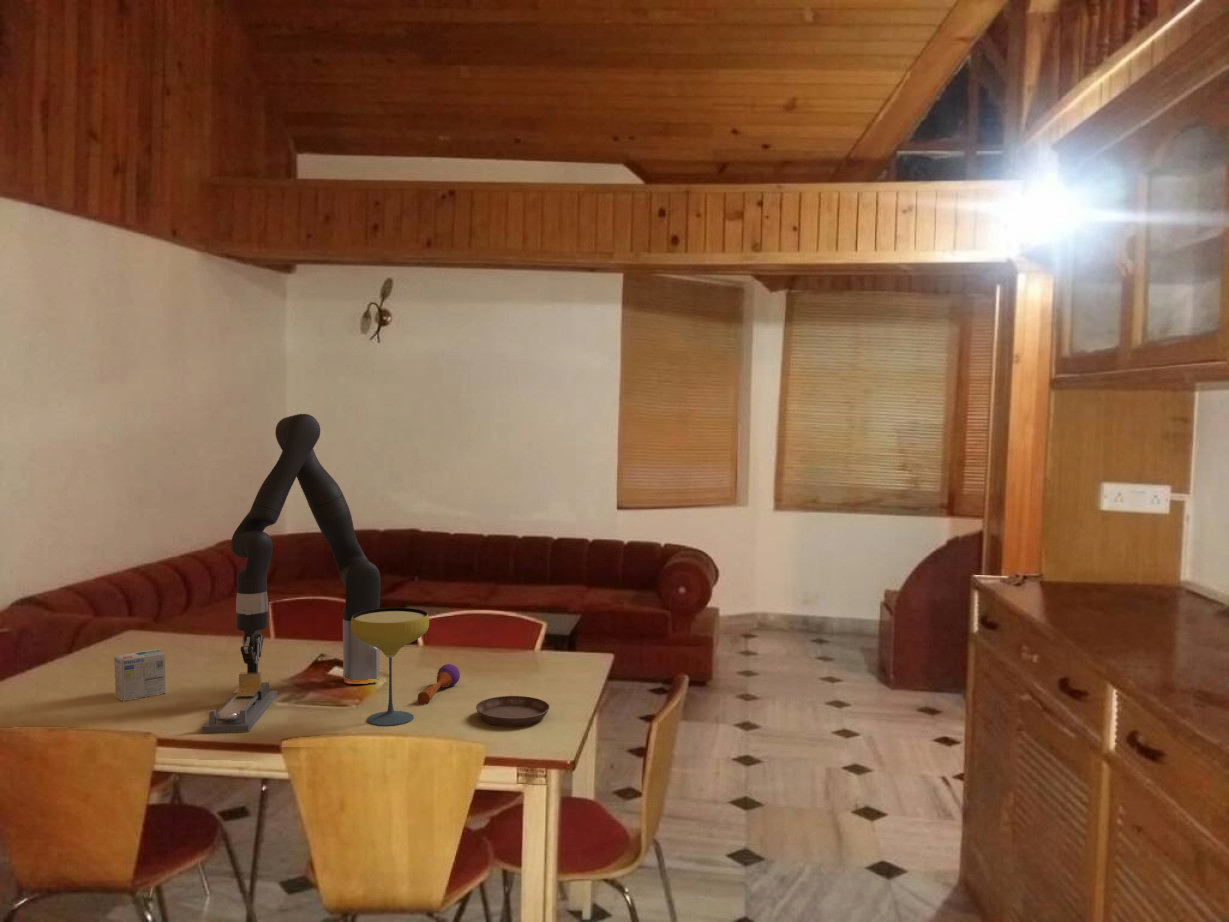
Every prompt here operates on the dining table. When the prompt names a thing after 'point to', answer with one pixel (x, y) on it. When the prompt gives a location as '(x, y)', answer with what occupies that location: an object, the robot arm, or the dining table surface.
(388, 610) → the cocktail glass
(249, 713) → the base
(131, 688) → the light bulb box
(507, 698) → the plant saucer
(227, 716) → the grey flat bar
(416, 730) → the dining table surface
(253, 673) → the block
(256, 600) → the robot arm
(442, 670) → the purple maraca
